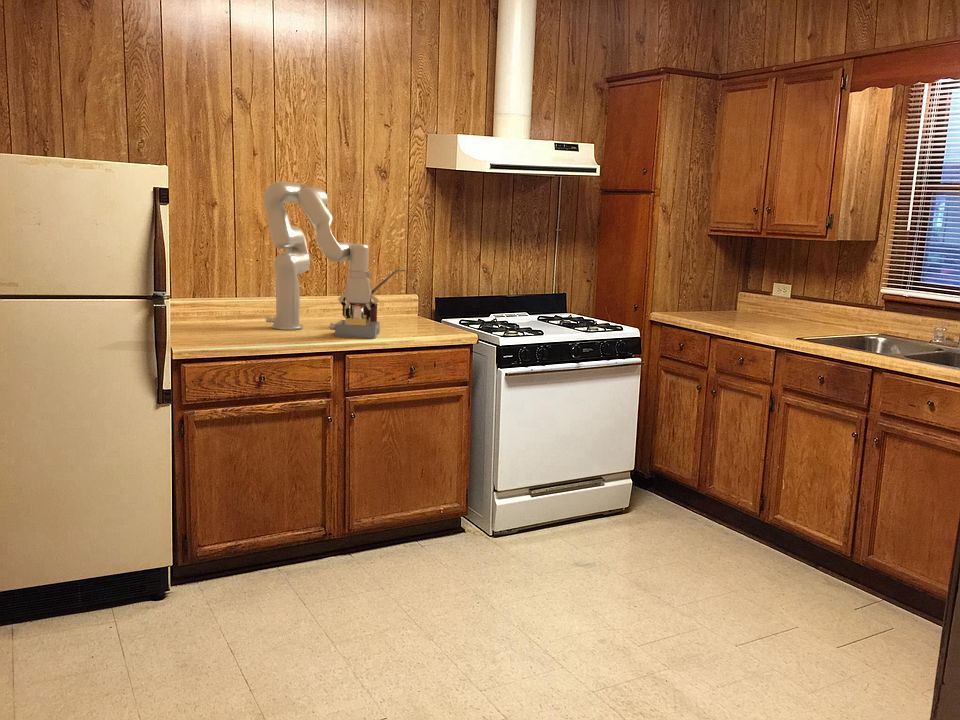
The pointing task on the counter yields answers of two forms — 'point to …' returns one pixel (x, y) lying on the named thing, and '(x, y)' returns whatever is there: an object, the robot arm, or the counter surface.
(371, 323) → the gearbox
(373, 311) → the oil can
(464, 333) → the counter surface
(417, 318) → the counter surface
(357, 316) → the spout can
